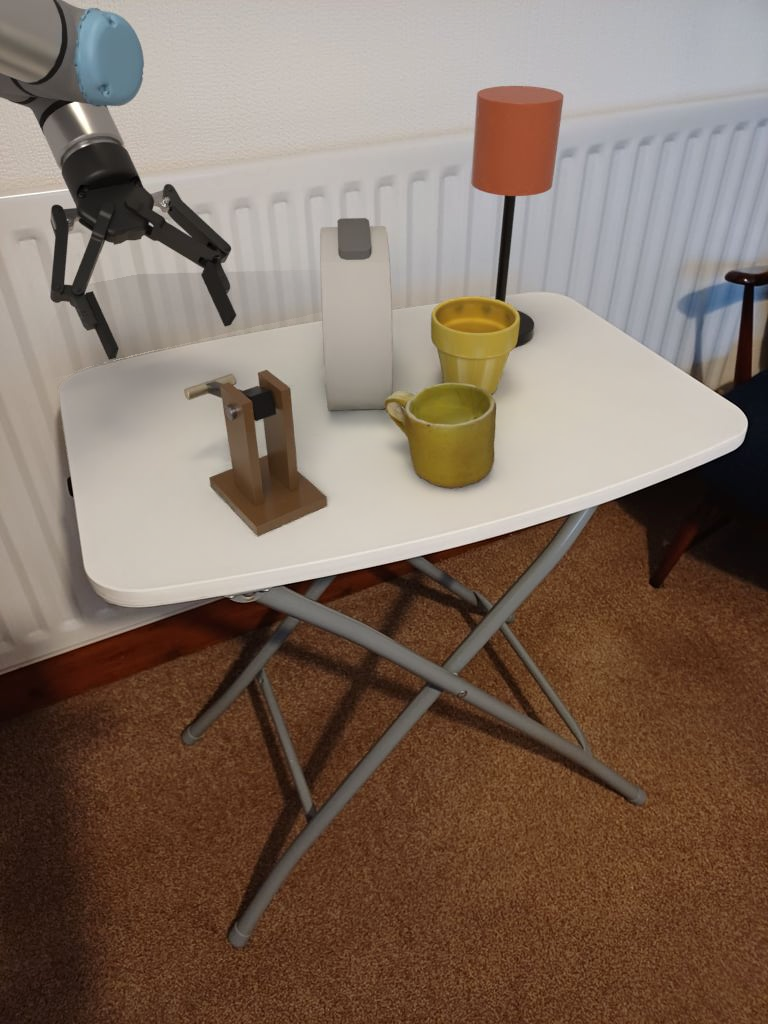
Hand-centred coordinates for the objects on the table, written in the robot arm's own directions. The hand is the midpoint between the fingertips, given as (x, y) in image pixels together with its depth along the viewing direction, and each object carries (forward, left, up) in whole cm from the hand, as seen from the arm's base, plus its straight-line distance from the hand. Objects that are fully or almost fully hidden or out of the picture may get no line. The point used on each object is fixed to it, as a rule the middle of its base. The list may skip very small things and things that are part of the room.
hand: (174, 337), depth 85 cm
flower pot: (+34, +6, -11) cm, 36 cm away
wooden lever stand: (+10, -15, -11) cm, 21 cm away
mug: (+28, -10, -11) cm, 32 cm away
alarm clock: (+20, +8, -11) cm, 24 cm away
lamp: (+40, +21, -11) cm, 46 cm away
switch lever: (+7, -11, -2) cm, 14 cm away
